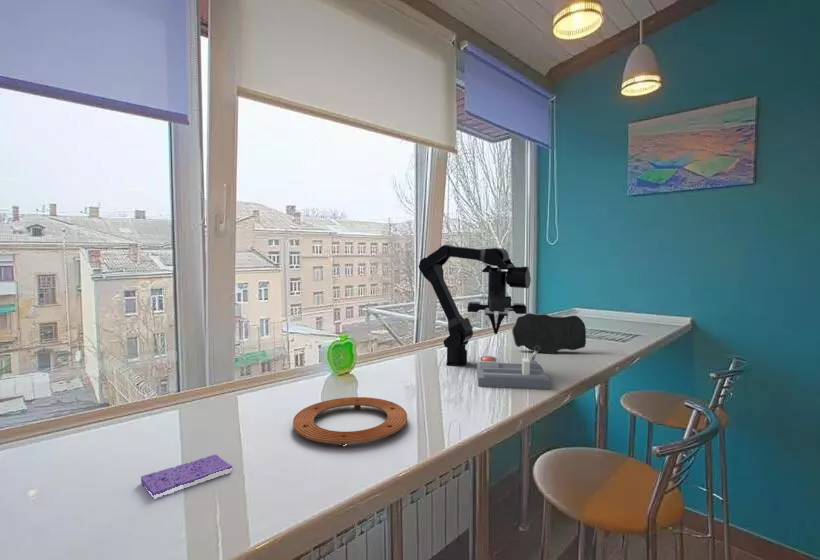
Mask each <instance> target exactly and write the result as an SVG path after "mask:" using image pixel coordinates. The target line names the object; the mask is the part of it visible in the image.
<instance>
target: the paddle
mask: <svg viewBox="0 0 820 560" xmlns="http://www.w3.org/2000/svg"><path fill="white" fill-rule="evenodd" d="M530 361H531V360H530ZM530 361H529V358H528V357H522V358H521V364H522V374H523V375H530Z"/></svg>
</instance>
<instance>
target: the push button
mask: <svg viewBox="0 0 820 560" xmlns="http://www.w3.org/2000/svg"><path fill="white" fill-rule="evenodd" d="M481 357H482V361H490V362H495V358H496V357H495V356H492V355H491V356H490V355H483V356H481Z"/></svg>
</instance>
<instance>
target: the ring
mask: <svg viewBox="0 0 820 560" xmlns="http://www.w3.org/2000/svg"><path fill="white" fill-rule="evenodd" d="M349 406H350V407H351V406H352V407H354V408H353V409H354V410H361V407H362V406H363V407H371V408H374V409H378V410H380V411H382V412H384V413H385V414H386V415H387V418H386V419H385V421H383V422H382V423H380V424H378V425H376V426H373V427H370V428H367V429H361V430H351V431H350V430H349V431H341V430H330V429H327V428H326V429H325V428H323V427H320V426H319V425H317V423H315V419H316V418H319V417H320V416H321V413H324V412H326V411H329V410H331V409H332V410H333V409H337V408H341V407H349ZM318 416H319V417H318ZM407 423H408V413H407V411H406V410H405V409H404V407H402V406H401V405H399V404H398V403H395V402H393V401H391V400H390V401H389V400H386V399H382V398H376V397H375V398H374V397H363V396H362V397H361V396H353V397H349V396H348V397H342V398H341V397H340V398H334V399H333V398H332V399H329V400H328V399H327V400H324V401H321V402H317V403H314V404H312V405H309V406H307V407H304V408H303V409H301V410H300V411H298V412H297V413H296V414H295V415H294V417H293V419H292V426H293V430H294V431H295V432H296V433H297V434H298V435H299V436H301V437H303V438H305V439H307V440H310V441H313V442H318V443H324V444H335V445H336V444H338V445H339V444H341V445H345V444H357V443H358V444H359V443H365V442H371V441H375V440H379V439H383V438H386V437H390V436H389V435H393V434H394V435H395V433H397V432H398V431H400V430H401V429H403V428H404V427H405V426H406V425H407ZM394 435H393V436H394Z"/></svg>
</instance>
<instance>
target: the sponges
mask: <svg viewBox="0 0 820 560" xmlns="http://www.w3.org/2000/svg"><path fill="white" fill-rule="evenodd" d="M230 468H233V465H232V464H230V463H228V462H227V460H224V459H222V458H221V457H220V456H219V455H217V454H216V453H215V454H211V455H209V456H206V457H203V458H199V459H197V460H196V459H195V460H194V461H193V460H192V461H190V462H189V463H188V462H185V463H182V464H180V465H179V464H178V465H176V466H174V467H173V466H172V467H169V468H165V469H162V470H159V471H157V472H151V473H149V474H144V475H142V476H141V475H140V480H141V485H142V484H143V485H144V486H145V487H146V488H147V490H148V491H150V492H151V493H152V495H153V496H154V495H156V494H160V493H163V492H165V491H167V490H170V489H172V488H175V487H178V486H180V485H184V484H187V483H191V482H194V481H195V480H198V479H201V478H204V477H206V476H208V475H210V474H213V473H216V472H219V471H223V470H225V469H230ZM143 485H142V486H143ZM144 486H143V487H144ZM147 490H146V491H147Z"/></svg>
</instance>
